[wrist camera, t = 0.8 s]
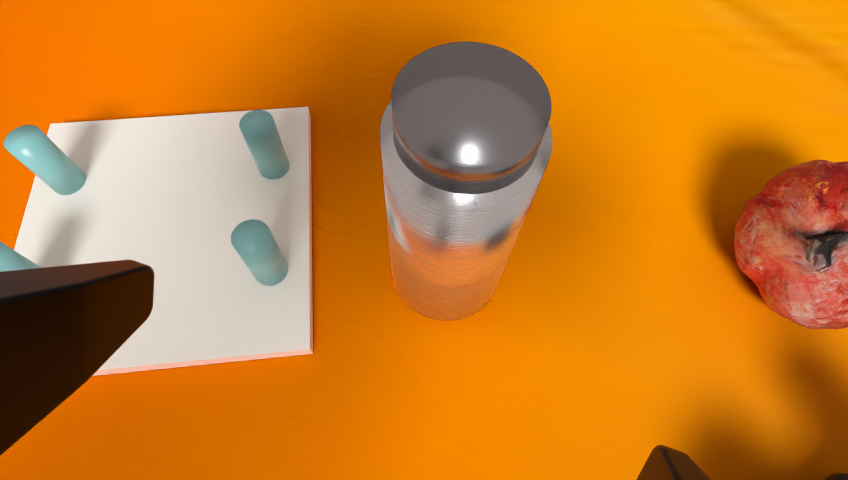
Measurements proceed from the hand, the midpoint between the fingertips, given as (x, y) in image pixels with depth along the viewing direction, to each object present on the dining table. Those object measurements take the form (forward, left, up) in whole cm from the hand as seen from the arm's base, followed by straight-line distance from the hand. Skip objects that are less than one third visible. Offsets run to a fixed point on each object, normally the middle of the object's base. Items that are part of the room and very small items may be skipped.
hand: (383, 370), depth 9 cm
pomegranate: (+18, -10, -15) cm, 26 cm away
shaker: (+8, +3, -14) cm, 17 cm away
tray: (+1, +16, -14) cm, 21 cm away
